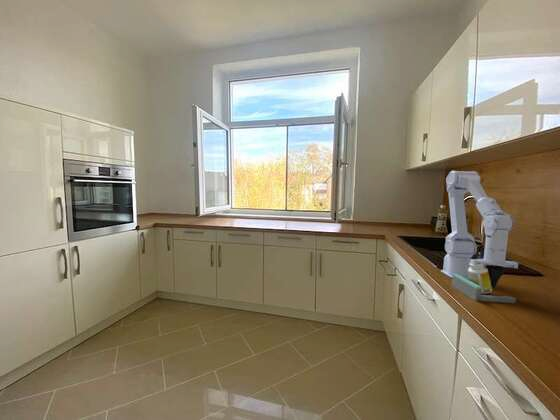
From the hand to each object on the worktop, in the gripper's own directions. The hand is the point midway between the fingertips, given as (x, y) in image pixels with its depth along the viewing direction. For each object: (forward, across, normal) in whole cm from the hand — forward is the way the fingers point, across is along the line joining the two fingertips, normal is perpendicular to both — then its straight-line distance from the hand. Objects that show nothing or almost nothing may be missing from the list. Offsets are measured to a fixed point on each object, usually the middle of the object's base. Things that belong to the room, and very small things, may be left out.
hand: (491, 286), depth 90 cm
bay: (+2, -4, -1) cm, 5 cm away
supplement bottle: (+2, -3, 0) cm, 3 cm away
